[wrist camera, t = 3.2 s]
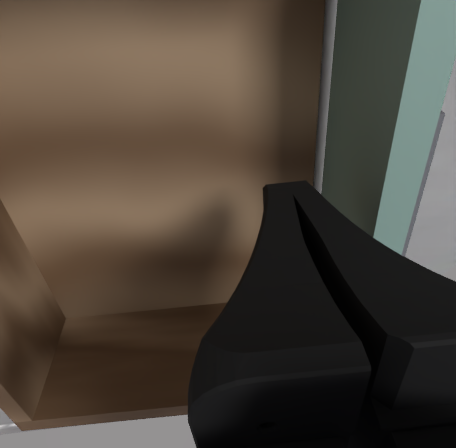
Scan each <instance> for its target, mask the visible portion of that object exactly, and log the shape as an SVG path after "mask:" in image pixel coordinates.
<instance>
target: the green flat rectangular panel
mask: <svg viewBox="0 0 456 448" xmlns="http://www.w3.org/2000/svg"><path fill="white" fill-rule="evenodd" d="M455 57H456V0H338V4H337V16H336V28H335V40H334V52H333V64H332V76H331V87H330V99H329V111H328V123H327V135H326V147H325V159H324V171H323V183H322V194H321V195H322V196H323V197H324V198H325V199H326V200H327V201H328V202H330V203H331V204H332V205H333V206H334V207H335V208H336V209H337V210H338V211H340V212H341V213H342V214H343V215H344V216H345V217H347V218H348V219H349V220H350V221H351V222H353V223H354V224H355V225H357V226H358V227H359V228H361V229H362V230H363V231H365V232H366V233H367V234H369V235H370V236H372V237H373V238H375V239H376V240H377V241H379V242H381V243H382V244H384V245H385V246H387V247H389V248H390V249H392V250H394V251H395V252H397V253H399V254H400V255H402V256H404V257H405V254H406V251H407V247H408V244H409V240H410V237H411V233H412V230H413V226H414V222H415V219H416V215H417V212H418V208H419V205H420V201H421V198H422V194H423V190H424V187H425V183H426V180H427V176H428V173H429V169H430V166H431V162H432V159H433V155H434V151H435V148H436V144H437V141H438V137H439V134H440V130H441V127H442V123H443V119H444V116H445V113H444V112H443V111H441V108H442V105H443V101H444V97H445V94H446V90H447V86H448V83H449V79H450V75H451V72H452V68H453V64H454V61H455Z"/></svg>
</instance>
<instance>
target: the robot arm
mask: <svg viewBox="0 0 456 448" xmlns="http://www.w3.org/2000/svg"><path fill="white" fill-rule="evenodd" d="M188 423H189V426H190V429H191V432H192V435H193V438H194V441H195V444H196V447H197V448H456V282H455V281H453V280H451V279H448V278H446V277H444V276H442V275H440V274H437V273H435V272H433V271H431V270H429V269H427V268H425V267H423V266H421V265H419V264H417V263H415V262H413V261H411V260H409V259H407V258H406V257H404V256H402V255H400V254H399V253H397V252H395V251H394V250H392V249H390V248H389V247H387V246H385V245H384V244H382V243H381V242H379V241H377V240H376V239H375V238H373V237H372V236H370V235H369V234H367V233H366V232H365V231H363V230H362V229H361V228H359V227H358V226H357V225H355V224H354V223H353V222H351V221H350V220H349V219H348V218H347V217H345V216H344V215H343V214H342V213H341V212H340V211H338V210H337V209H336V208H335V207H334V206H333V205H332V204H331V203H330V202H328V201H327V200H326V199H325V198H324V197H323V196H322V195H321V194H320V193H319V192H318V191H317V190H316V189H315V188H314V187H313V186H312V185H311V184H310V183H308V182H307V181H306V180H304V181H294V182H285V183H275V184H266V185H265V186H264V187H263V216H262V221H261V226H260V230H259V233H258V237H257V240H256V244H255V247H254V249H253V252H252V255H251V257H250V260H249V262H248V265H247V267H246V269H245V271H244V273H243V275H242V277H241V279H240V282H239V283H238V285H237V287H236V289H235V291H234V292H233V294H232V296H231V297H230V299H229V301H228V302H227V304H226V305H225V307H224V309H223V310H222V312H221V313H220V315H219V316H218V317H217V319H216V320H215V321H214V323H213V324H212V325H211V327H210V328H209V329H208V331H207V332H206V333H205V335H204V336H203V337H202V339H201V342H200V345H199V348H198V351H197V354H196V357H195V361H194V364H193V368H192V372H191V376H190V381H189V388H188Z"/></svg>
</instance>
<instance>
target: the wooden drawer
mask: <svg viewBox="0 0 456 448" xmlns="http://www.w3.org/2000/svg"><path fill="white" fill-rule="evenodd" d="M324 14H325V0H0V408H1V409H2V410H3V411H4V412H5V413H6V414H7V416H8V417H9V418H10V419H11V420H12V421H13V422H14V423H15V424H16V425H17V426H18V427H19V428H20V429H21V431H25V430H35V429H45V428H55V427H65V426H76V425H86V424H96V423H106V422H116V421H126V420H136V419H146V418H156V417H166V416H177V415H187V414H188V388H189V381H190V376H191V372H192V368H193V364H194V361H195V357H196V354H197V351H198V348H199V345H200V342H201V339H202V337H203V336H204V335H205V333H206V332H207V331H208V329H209V328H210V327H211V325H212V324H213V323H214V321H215V320H216V319H217V317H218V316H219V315H220V313H221V312H222V310H223V309H224V307H225V305H226V304H227V302H228V301H229V299H230V297H231V296H232V294H233V292H234V291H235V289H236V287H237V285H238V283H239V282H240V279H241V277H242V275H243V273H244V271H245V269H246V267H247V265H248V262H249V260H250V257H251V255H252V252H253V249H254V247H255V244H256V240H257V237H258V233H259V230H260V226H261V221H262V216H263V187H264V186H265V185H266V184H275V183H285V182H294V181H304V180H306V181H307V182H308V183H310V184H311V185H312V186H313V180H314V165H315V150H316V135H317V119H318V104H319V89H320V74H321V59H322V44H323V29H324Z"/></svg>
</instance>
